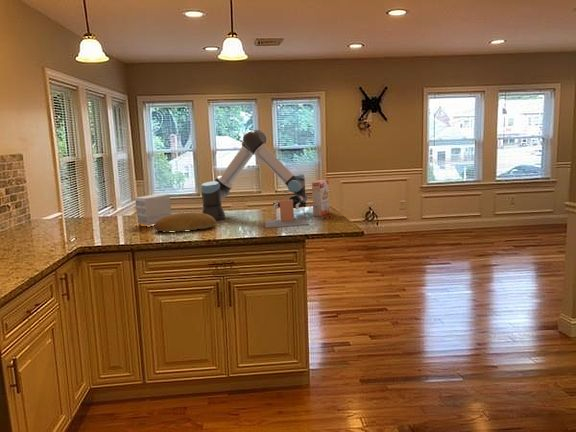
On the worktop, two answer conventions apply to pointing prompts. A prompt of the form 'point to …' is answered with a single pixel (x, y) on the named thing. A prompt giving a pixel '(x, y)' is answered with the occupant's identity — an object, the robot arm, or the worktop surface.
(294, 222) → the mat
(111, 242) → the worktop surface
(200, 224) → the bread
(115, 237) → the worktop surface
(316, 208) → the cracker box
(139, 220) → the supplement box
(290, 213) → the deck
